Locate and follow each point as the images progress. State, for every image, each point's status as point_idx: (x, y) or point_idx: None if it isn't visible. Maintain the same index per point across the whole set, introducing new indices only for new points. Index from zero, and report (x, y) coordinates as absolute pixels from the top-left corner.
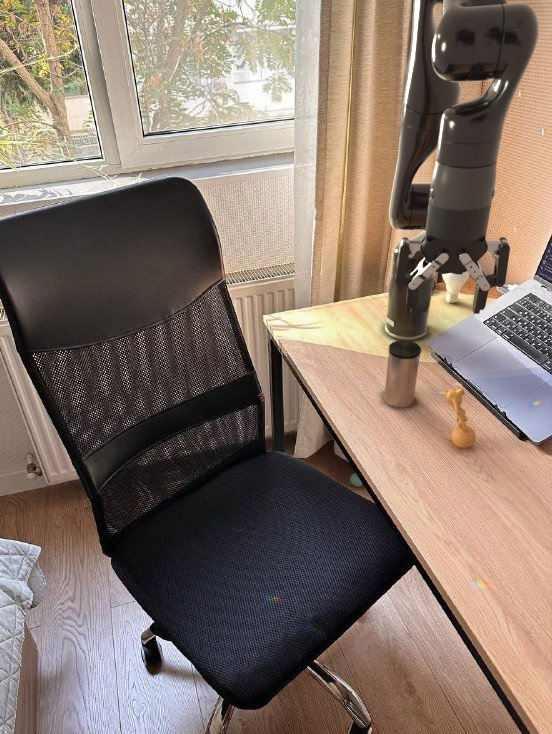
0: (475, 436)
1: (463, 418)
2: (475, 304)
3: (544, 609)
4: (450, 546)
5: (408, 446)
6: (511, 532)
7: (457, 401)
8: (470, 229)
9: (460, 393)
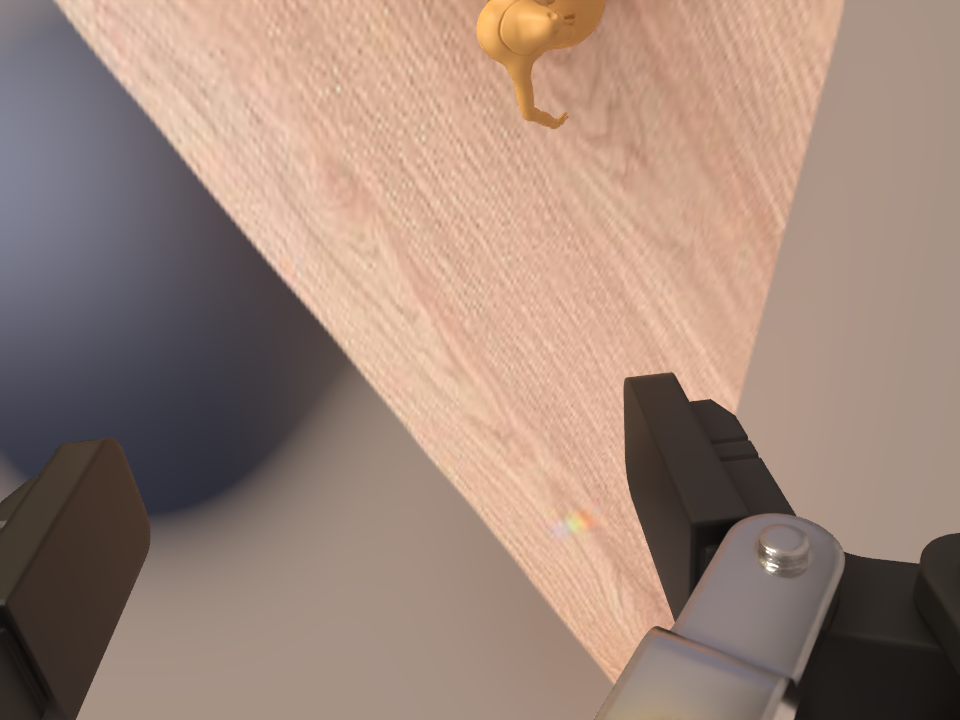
0: (604, 5)
1: (556, 45)
2: (646, 529)
3: None
4: (510, 444)
5: (353, 53)
6: (666, 364)
7: (528, 74)
8: None
9: (542, 43)
